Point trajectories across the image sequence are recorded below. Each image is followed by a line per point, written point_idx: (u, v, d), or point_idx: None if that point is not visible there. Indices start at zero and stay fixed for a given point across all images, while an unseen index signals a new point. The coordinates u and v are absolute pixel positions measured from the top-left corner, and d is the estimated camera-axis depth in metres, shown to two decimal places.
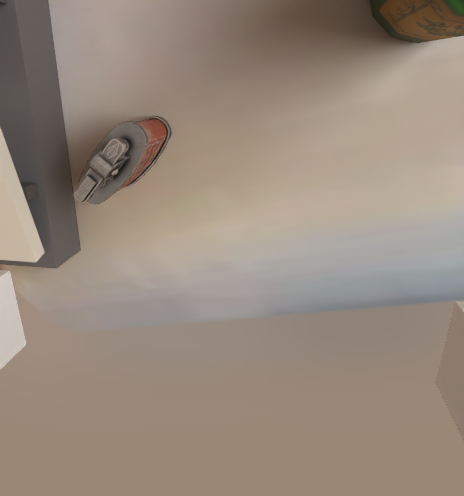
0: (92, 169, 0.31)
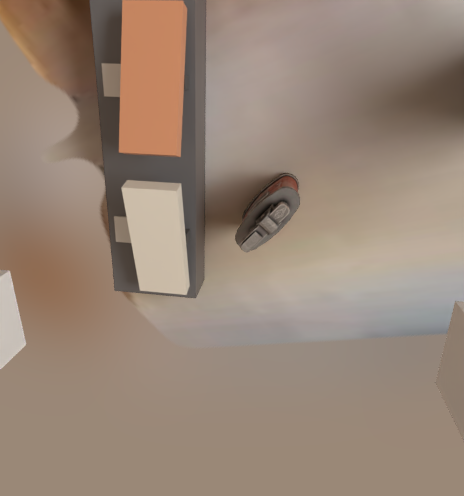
0: (260, 226, 0.38)
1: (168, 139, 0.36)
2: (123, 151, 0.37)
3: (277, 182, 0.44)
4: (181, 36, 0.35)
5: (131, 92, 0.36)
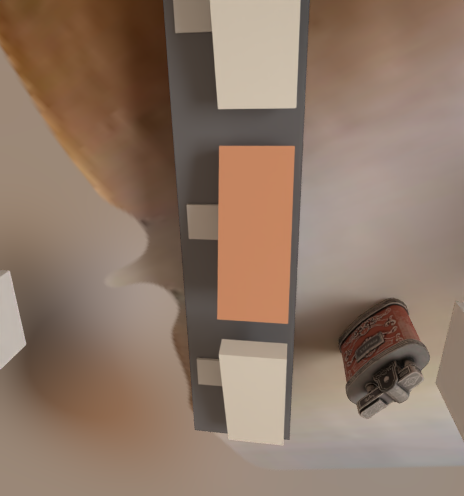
0: (385, 394, 0.32)
1: (278, 305, 0.30)
2: (222, 318, 0.31)
3: (386, 315, 0.38)
4: None
5: (232, 252, 0.30)
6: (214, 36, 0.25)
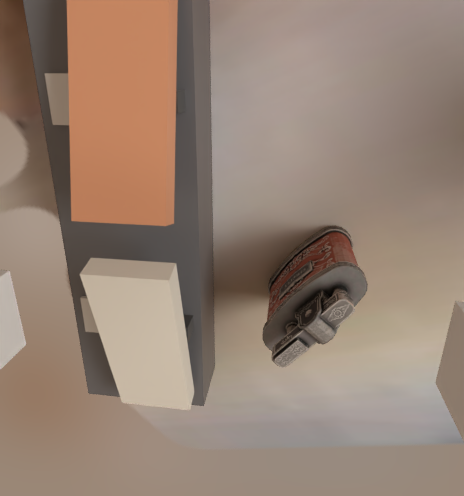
0: (305, 331, 0.24)
1: (151, 199, 0.22)
2: (78, 219, 0.22)
3: (322, 243, 0.29)
4: (168, 25, 0.20)
5: (88, 123, 0.21)
6: None
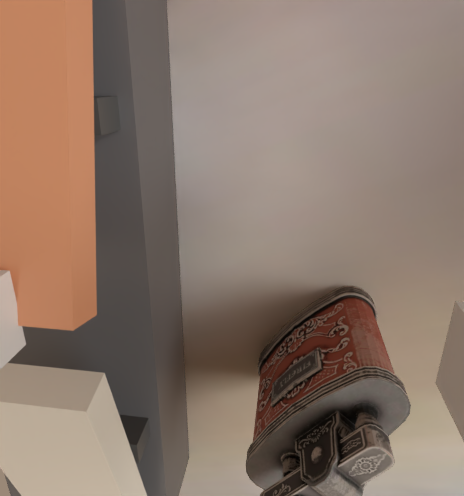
0: (311, 488, 0.15)
1: (48, 286, 0.12)
2: None
3: (334, 315, 0.20)
4: None
5: None
6: None
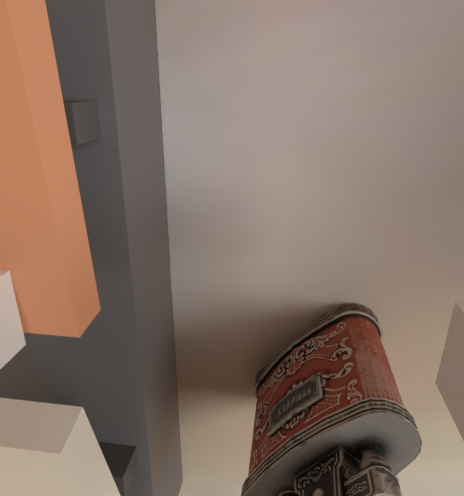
0: None
1: (48, 300, 0.13)
2: None
3: (336, 336, 0.19)
4: None
5: None
6: None
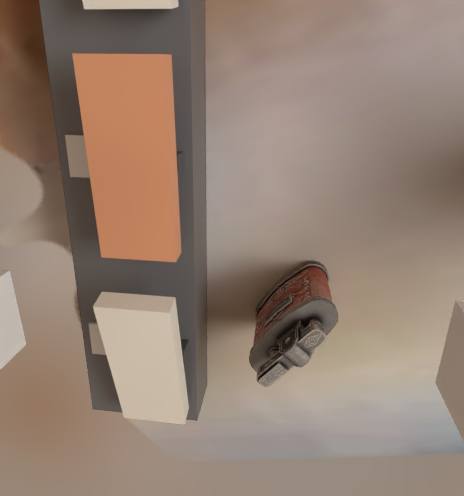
0: (284, 356, 0.28)
1: (163, 243, 0.27)
2: (107, 256, 0.28)
3: (301, 276, 0.34)
4: (167, 107, 0.24)
5: (106, 185, 0.26)
6: None
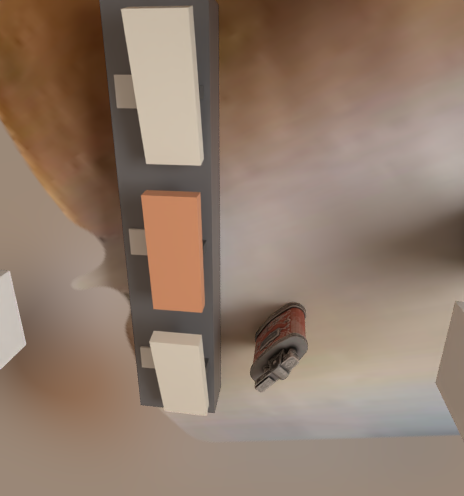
0: (272, 373, 0.43)
1: (194, 301, 0.43)
2: (157, 308, 0.44)
3: (286, 315, 0.49)
4: (198, 225, 0.39)
5: (158, 267, 0.41)
6: (139, 117, 0.36)
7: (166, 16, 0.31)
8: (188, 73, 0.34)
